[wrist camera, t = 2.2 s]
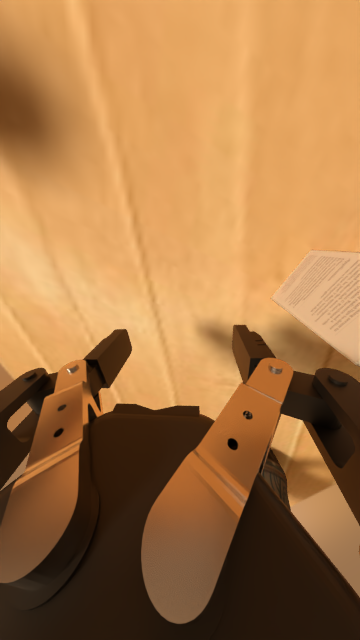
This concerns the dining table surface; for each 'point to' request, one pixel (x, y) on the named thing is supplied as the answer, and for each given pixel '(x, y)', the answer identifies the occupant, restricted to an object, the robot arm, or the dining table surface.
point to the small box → (326, 298)
